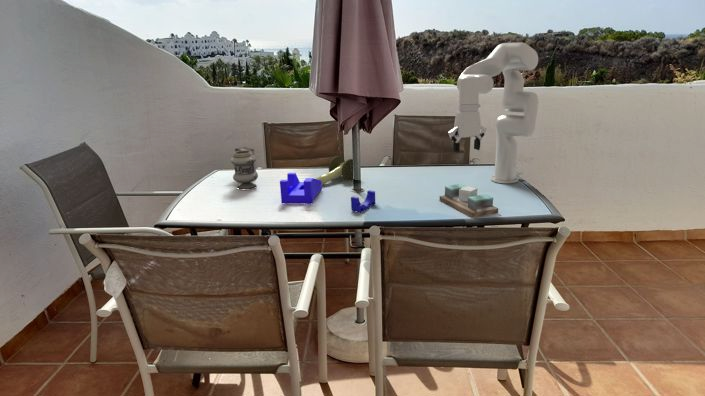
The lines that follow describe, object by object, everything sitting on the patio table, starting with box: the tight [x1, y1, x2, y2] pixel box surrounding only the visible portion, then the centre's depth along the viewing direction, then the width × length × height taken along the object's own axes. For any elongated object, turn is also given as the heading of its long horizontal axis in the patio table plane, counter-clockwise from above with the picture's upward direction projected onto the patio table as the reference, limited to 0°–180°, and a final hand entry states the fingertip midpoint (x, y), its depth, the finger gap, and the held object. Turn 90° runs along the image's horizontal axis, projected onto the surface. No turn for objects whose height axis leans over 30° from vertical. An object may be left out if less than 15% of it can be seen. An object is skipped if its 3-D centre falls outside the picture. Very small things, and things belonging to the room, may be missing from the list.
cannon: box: [315, 155, 354, 186], centre depth 234 cm, size 25×12×11 cm, turn 133°
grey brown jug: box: [234, 146, 257, 172], centre depth 245 cm, size 9×6×16 cm
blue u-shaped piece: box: [350, 190, 376, 213], centre depth 194 cm, size 12×4×6 cm, turn 138°
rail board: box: [439, 183, 499, 219], centre depth 191 cm, size 12×24×6 cm, turn 21°
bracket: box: [279, 172, 323, 204], centre depth 212 cm, size 21×14×10 cm, turn 172°
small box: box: [459, 185, 478, 202], centre depth 190 cm, size 6×6×5 cm
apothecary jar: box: [230, 150, 259, 190], centre depth 228 cm, size 12×12×18 cm
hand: (466, 150), depth 190 cm, fingers open, 9 cm apart
